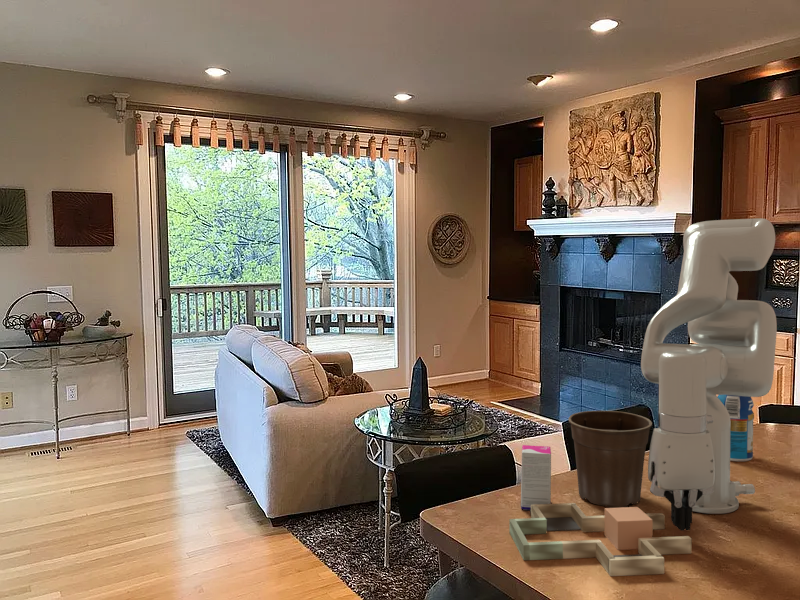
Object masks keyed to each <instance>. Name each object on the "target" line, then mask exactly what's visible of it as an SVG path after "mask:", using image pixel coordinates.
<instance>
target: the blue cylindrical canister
mask: <svg viewBox="0 0 800 600" xmlns="http://www.w3.org/2000/svg"><path fill="white" fill-rule="evenodd" d="M716 396H717V397H718V398H719V400H720V401H721V402H722V403H723V405H724V406H725V407H726V409H727V411H728V413H729V415H730V421H731V427H730V462H748V461H751V460H753V458H754V451H753V450H754V419H755V413H754V411H753V408H754V406H755V405H754V400H753V397H746V396H734V395H723V394H722V395H716Z"/></svg>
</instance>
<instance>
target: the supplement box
mask: <svg viewBox="0 0 800 600" xmlns="http://www.w3.org/2000/svg"><path fill="white" fill-rule="evenodd" d="M520 479H521V481H520V483H521V485H520V510H521V509H523V510H522V511H531V505H534V504H552V502H551V500H552V499H551V498H552V497H551V496H552V493H551V492H552V490H551V489H552V449H551V446H547V445H546V446H545V445H529V444H528V445H527V444H523V445H522V446H521V478H520Z"/></svg>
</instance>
